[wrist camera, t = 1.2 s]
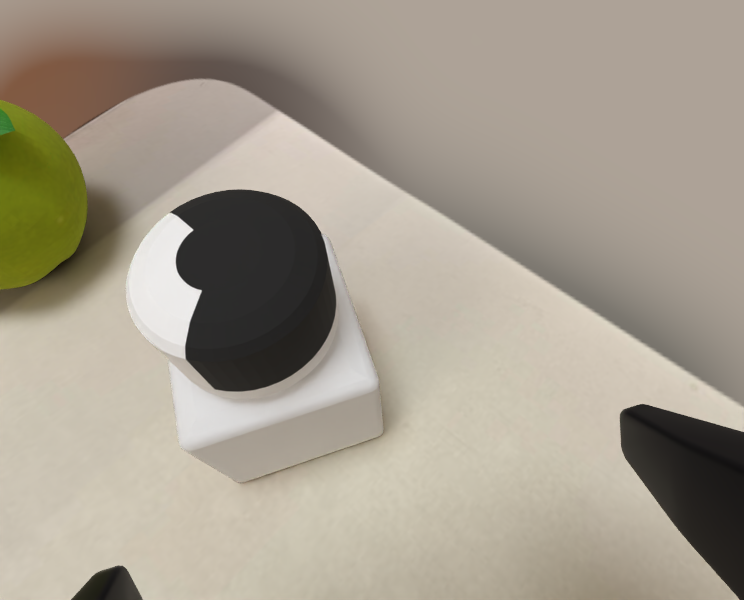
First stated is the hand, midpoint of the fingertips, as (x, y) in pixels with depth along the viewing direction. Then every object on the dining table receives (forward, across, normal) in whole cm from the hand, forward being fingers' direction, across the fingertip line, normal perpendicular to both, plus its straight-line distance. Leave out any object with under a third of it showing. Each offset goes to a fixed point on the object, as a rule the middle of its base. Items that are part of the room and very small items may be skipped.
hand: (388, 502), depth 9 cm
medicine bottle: (+16, +3, +6) cm, 17 cm away
